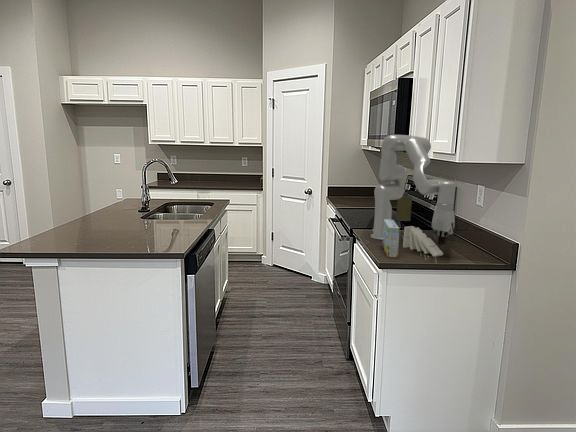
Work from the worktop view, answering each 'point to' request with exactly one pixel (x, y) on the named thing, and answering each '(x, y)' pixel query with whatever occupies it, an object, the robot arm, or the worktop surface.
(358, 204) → the worktop surface
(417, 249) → the domino
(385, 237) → the snack box
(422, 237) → the domino
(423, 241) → the domino
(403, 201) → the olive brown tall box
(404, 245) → the domino
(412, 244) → the domino
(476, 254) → the worktop surface
